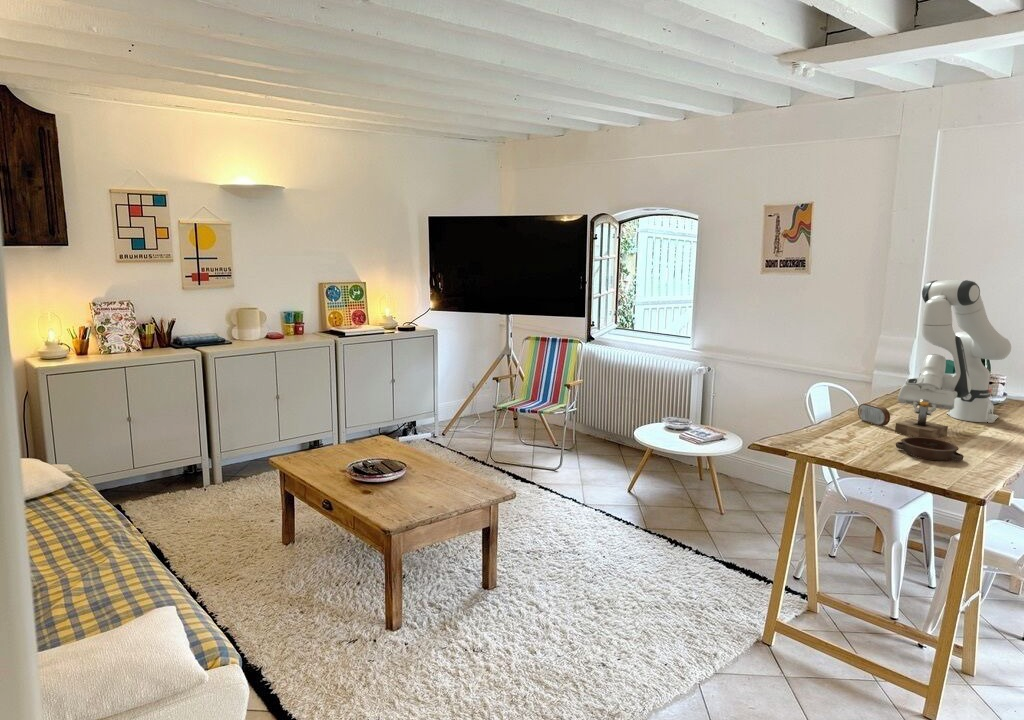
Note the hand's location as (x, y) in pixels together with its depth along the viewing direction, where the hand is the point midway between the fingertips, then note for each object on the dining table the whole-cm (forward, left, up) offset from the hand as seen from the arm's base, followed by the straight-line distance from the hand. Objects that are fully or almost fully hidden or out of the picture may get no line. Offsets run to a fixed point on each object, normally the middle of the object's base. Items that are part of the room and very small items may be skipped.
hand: (922, 413), depth 283 cm
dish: (+28, +16, -9) cm, 34 cm away
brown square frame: (-1, 0, -9) cm, 9 cm away
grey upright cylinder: (-1, 0, -6) cm, 6 cm away
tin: (-1, -20, -9) cm, 22 cm away
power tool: (-74, -19, -9) cm, 77 cm away
